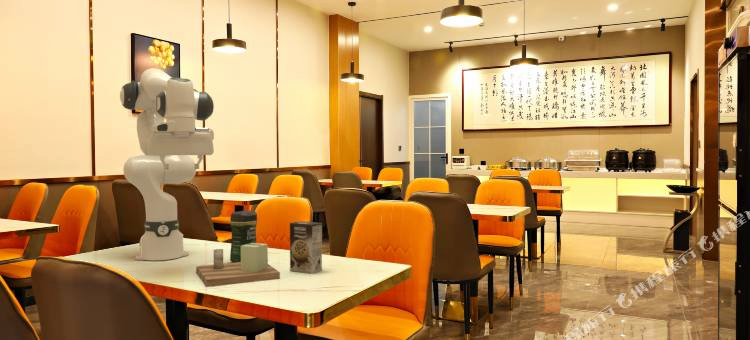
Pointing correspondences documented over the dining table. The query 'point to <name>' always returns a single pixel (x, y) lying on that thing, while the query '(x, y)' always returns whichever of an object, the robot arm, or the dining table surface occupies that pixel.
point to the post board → (231, 272)
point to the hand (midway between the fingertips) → (181, 169)
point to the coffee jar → (242, 232)
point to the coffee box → (305, 247)
